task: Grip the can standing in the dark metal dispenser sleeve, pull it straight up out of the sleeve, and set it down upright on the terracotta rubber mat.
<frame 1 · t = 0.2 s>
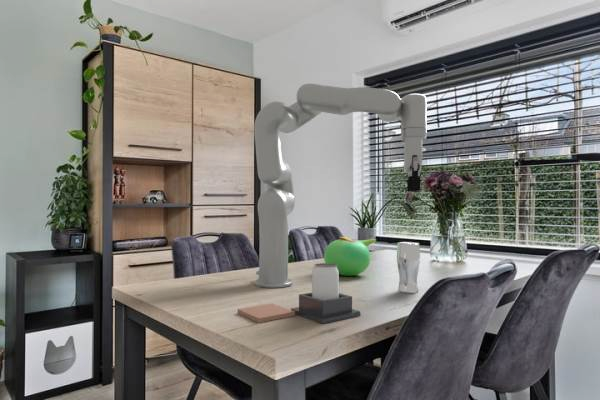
hand: (413, 190, 127), 31 cm above the table, tool pointing down, fingers open, 9 cm apart
can: (325, 314, 101), resting in dispenser sleeve
dispenser sleeve: (325, 313, 101), on the table
green round teapot: (347, 275, 156), on the table
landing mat: (265, 314, 100), on the table
beer glass: (408, 292, 128), on the table
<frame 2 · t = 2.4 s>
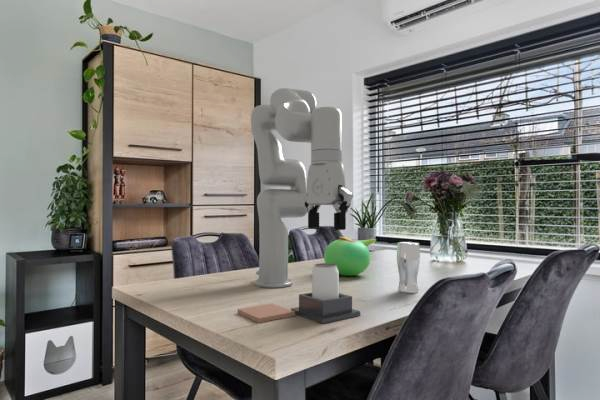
hand: (326, 228, 101), 21 cm above the table, tool pointing down, fingers open, 9 cm apart
nothing on the table moved.
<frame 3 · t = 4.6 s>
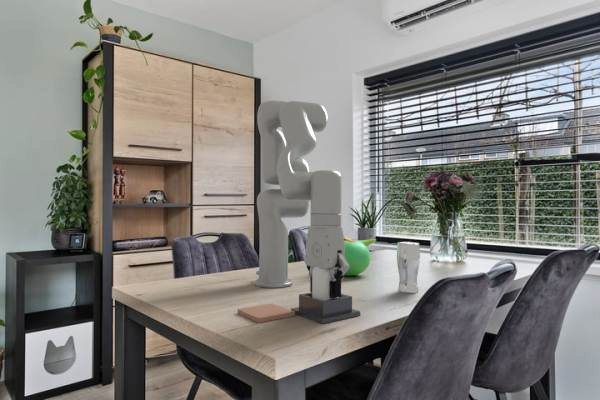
hand: (325, 293, 101), 5 cm above the table, tool pointing down, fingers closed on can, 6 cm apart
can: (325, 314, 101), resting in dispenser sleeve, touching gripper
everything else where it was.
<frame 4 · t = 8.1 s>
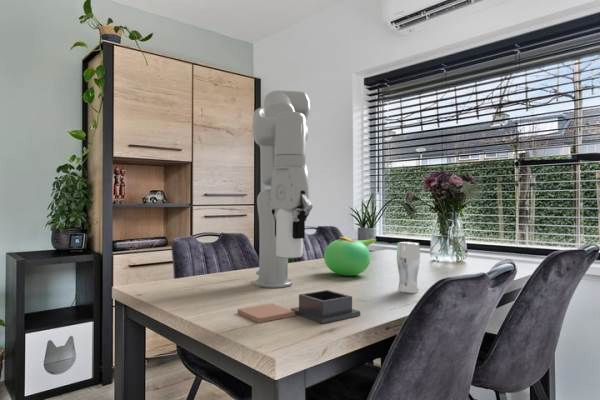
hand: (289, 236, 101), 19 cm above the table, tool pointing down, fingers closed on can, 6 cm apart
can: (289, 257, 101), point 14 cm above the table, touching gripper
everything else where it was.
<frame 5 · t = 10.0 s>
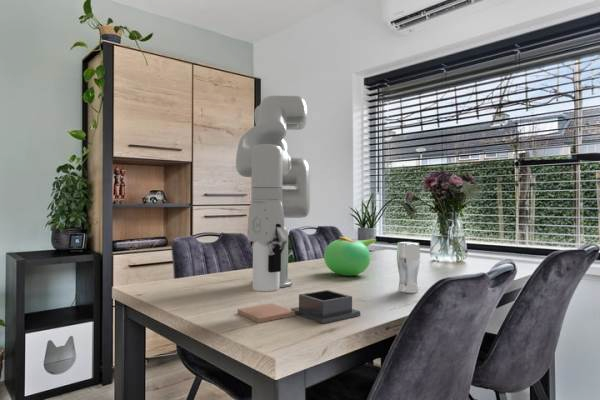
hand: (266, 269, 100), 11 cm above the table, tool pointing down, fingers closed on can, 6 cm apart
can: (266, 290, 100), point 6 cm above the table, touching gripper
everything else where it was.
when the fingers open (7 cm above the table, at t = 11.7 s): can drops 1 cm, resting on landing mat.
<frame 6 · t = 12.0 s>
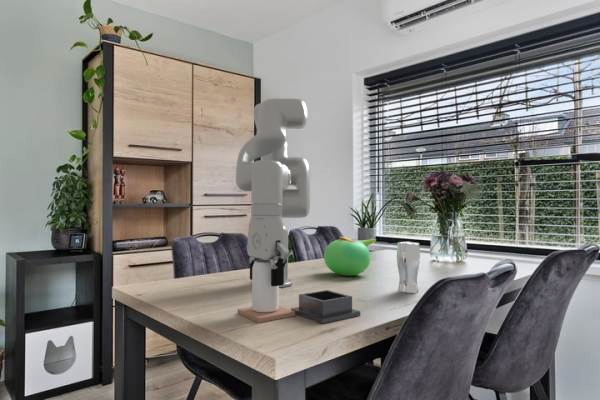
hand: (266, 282, 100), 8 cm above the table, tool pointing down, fingers open, 9 cm apart
can: (265, 310, 100), point 1 cm above the table, touching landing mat
everything else where it was.
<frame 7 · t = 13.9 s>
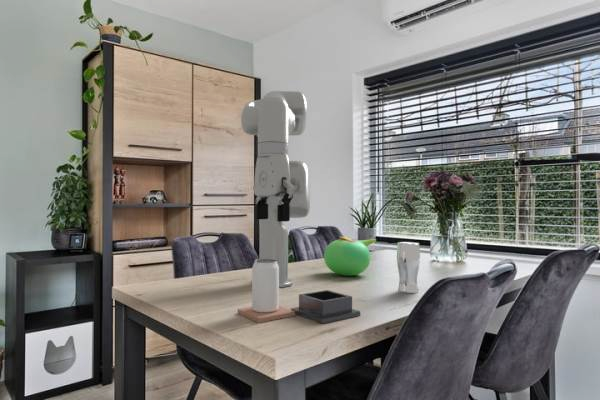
hand: (272, 220, 103), 23 cm above the table, tool pointing down, fingers open, 9 cm apart
nothing on the table moved.
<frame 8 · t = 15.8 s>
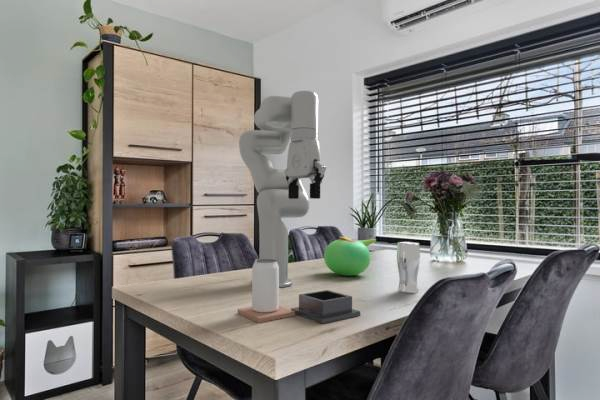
hand: (303, 198, 115), 28 cm above the table, tool pointing down, fingers open, 9 cm apart
nothing on the table moved.
at the end: can inside the target area on the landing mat (0.4 cm from its centre), point 0.8 cm above the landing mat's base; can tilted 0°; the gripper is holding nothing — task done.
